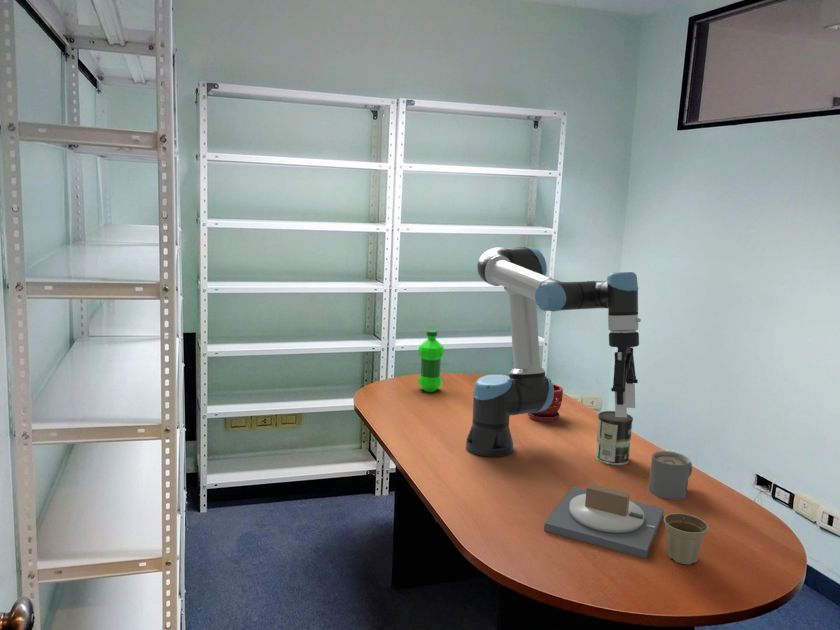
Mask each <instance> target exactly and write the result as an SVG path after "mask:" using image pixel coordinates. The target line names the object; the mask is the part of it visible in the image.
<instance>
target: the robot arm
mask: <svg viewBox="0 0 840 630" xmlns="http://www.w3.org/2000/svg"><path fill="white" fill-rule="evenodd" d="M476 267H477V273H478V275H479V277H480V279H481V280H482V281H484V282H485V283H487V284H488V285H491V286H493V287H500V286H501V287H504V288H503V290H504V291H506V292H507V294H508V295H509V310H510V315H509V316H510V327H511V329H510V330H511V345H512V346H511V348H512V349H511V350H512V364H513V367H512V368H511V370H509V372H508V373H509V374H508V375H505V374H499V373H498V374H487V375H484V376H483V375H482V376H481V377H479V378H478V379H476V381H475V383H474V386H473V387H474V388H473V391H472V392H473V393H472V395H473V400H472V401H473V405H472V407H473V408H472V423H471V427H470V429H469V432H468V434H467V437H466V441H465V447H466V450H467V451H469V452H470V453H471V454H474V455H478V456H480V457H489V458H492V457H493V458H499V457H505V456H509V455H510V454H512V453H513V451H514V441H513V437H512V434H511V433H512V432H511V429H510V417H511V416H519V415H527V414H528V413H537V412H540V411H544V410H546V409H547V408H548V407H549V406H550V405H551V403H552V400H553V396H554V387H553V384H554V383H552V380H551V378H550V377H549V376H547V375H546V371H545V369H543V368H542V367H541V363H540V362H541V361H540V360H541V359H540V357H541V356H540V346H539V345H540V343H539V341H540V340H539V328H538V327H539V326H538V310H537V309H538V308H539V309H540V310H541V311H544V312H546V311H547V312H549V311H550V312H559V311H560V312H561V311H572V310H573V311H574V310H592V309H593V310H594V309H595V310H596V309H608V312H607V313H608V314H607V319H608V320H607V323H608V325H607V326H608V330H609V331H610V332H609V333H608V346H609V347H610V348H611V347H612V348H617V351H614V365H613V379H612V383H613V384H612V387H611V389H610V391H611V392H613V393H614V411H615V417H627V414H628V412H627V411H628V410H627V408H629V409H636V385H635V384H638V383H639V382H638V381H639V380H638V379H637V375H636V368H635V359H634V358H635V357H634V348H637V347H638V346H639V345H640V334H639V332H638V331H637V330H639V323H640V322H642V319H641V318H639V283H638V277H637V274H636V273H635V272H633V271H628V272H627V271H626V272H625V271H624V272H609V273H608V274H607V277H606V280H586V281H560V280H557V279H554V278H552V277H550V276H547V272H548V271H547V270H548V269H547V268H548V266H547V261H546V258H545V256H544V255H543V253H542V252H541V251H540V250H539V249H537V248H535V247H530V246H529V247H527V246H513V247H511V246H509V247H501V246H500V247H499V246H498V247H492V248H489V249H487V250H486V251H485V252H483V253H482V254H481V256H480V257H479V259H478V260H477V266H476ZM537 306H538V308H537Z"/></svg>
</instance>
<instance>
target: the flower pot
mask: <svg viewBox="0 0 840 630" xmlns="http://www.w3.org/2000/svg"><path fill="white" fill-rule="evenodd" d="M663 522H664V525H665V529H666V542H667V556H668V558H669V559H672V560H673V561H674V562H675V563H679V564H683V565H691V564H696V563H697V562H698V559H699V554H700V551H701V547H702V542H703V539H704V537H706V536H705V535H706V533H707V532H708V531H709V525H708V523H707V522H706V521H704V520H703V519H702V518H699V517H698V516H695V515H692V514H688V513H681V512H671V513H668V514H666V515H664V516H663Z"/></svg>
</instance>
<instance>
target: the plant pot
mask: <svg viewBox="0 0 840 630" xmlns="http://www.w3.org/2000/svg"><path fill="white" fill-rule="evenodd" d="M553 387H554V396H553V400H552V403H551V405H550V406H549V407H548V408H547V409H546V410H544V411H540V412H537V413H527V416H529V418H531V419H533V420H535V421H539V422H548V423H550V422H552V421H553V422H554V421H556V420H558V419H559V418H560V412H559V410H560V409H561V407H562V402H563V393H564V388H563V387H562V386H560V385H558V384H554V383H553Z"/></svg>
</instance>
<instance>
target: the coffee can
mask: <svg viewBox="0 0 840 630" xmlns="http://www.w3.org/2000/svg"><path fill="white" fill-rule="evenodd" d="M597 417H598V422H597V433H596V446H595V447H596V449H595V456H594V457H596V458H595V459H596V460H597V461H598V460H599V461H598V462H601V463H602V462H603V463H602V464H605V463H606V464H605V465H610V464H611V466H623V465H624V466H625V465H627V464H629V462H630V450H631V440H632V439H631V438H632V427H633V421H634V417H633V416H632V415H630V414H628V413H627V417H615V410H606V411H601V412H599V413H598V415H597Z"/></svg>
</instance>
